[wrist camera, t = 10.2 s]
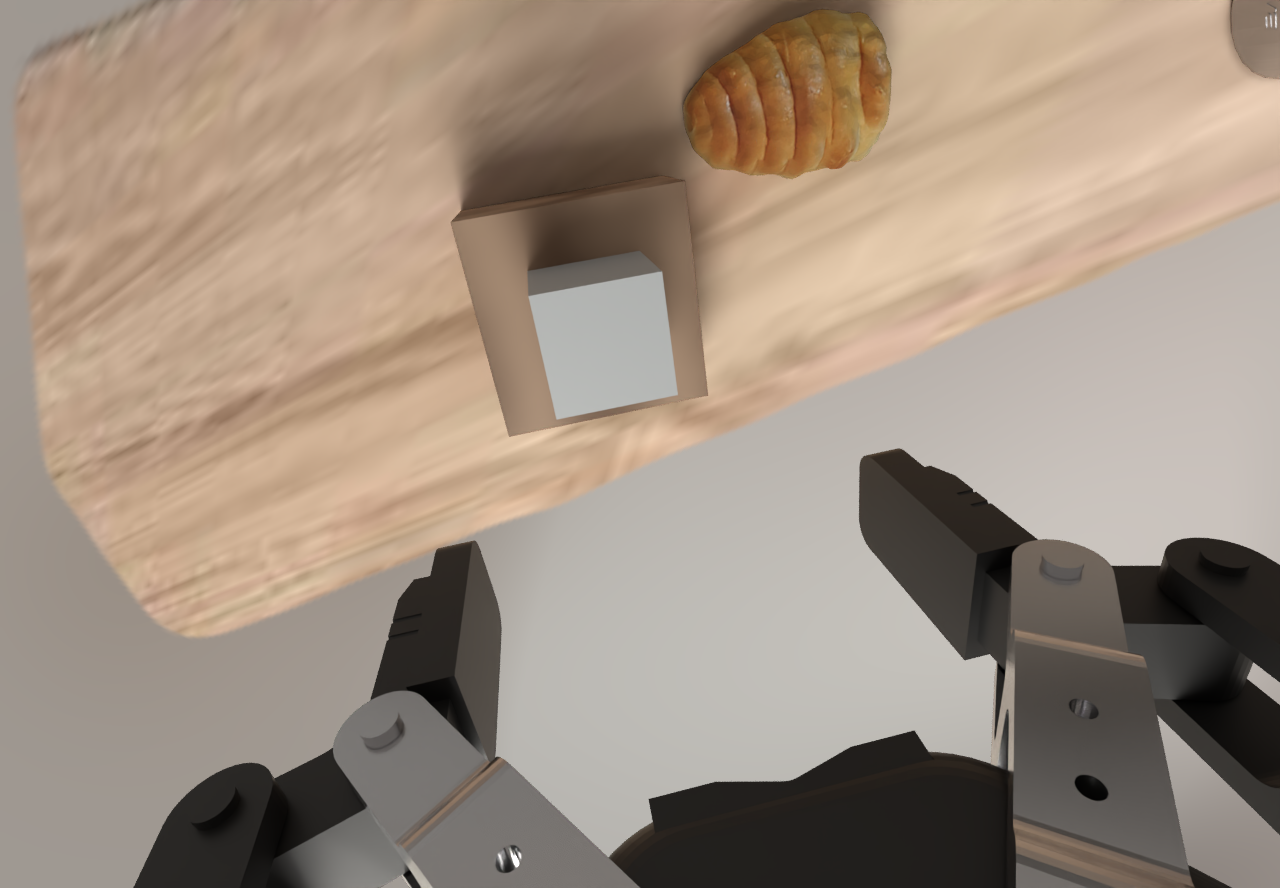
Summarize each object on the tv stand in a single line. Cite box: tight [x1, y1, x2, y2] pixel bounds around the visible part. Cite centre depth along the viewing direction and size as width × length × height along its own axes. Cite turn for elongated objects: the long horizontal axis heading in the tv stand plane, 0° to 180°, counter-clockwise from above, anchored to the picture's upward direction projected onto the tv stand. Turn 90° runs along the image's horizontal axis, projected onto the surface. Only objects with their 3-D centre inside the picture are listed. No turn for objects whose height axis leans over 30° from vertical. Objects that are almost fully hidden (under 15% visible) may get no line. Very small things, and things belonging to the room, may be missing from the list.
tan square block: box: [451, 176, 708, 437], centre depth 31 cm, size 10×10×5 cm
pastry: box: [683, 9, 891, 179], centre depth 29 cm, size 9×7×4 cm
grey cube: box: [527, 251, 678, 419], centre depth 26 cm, size 5×5×5 cm
